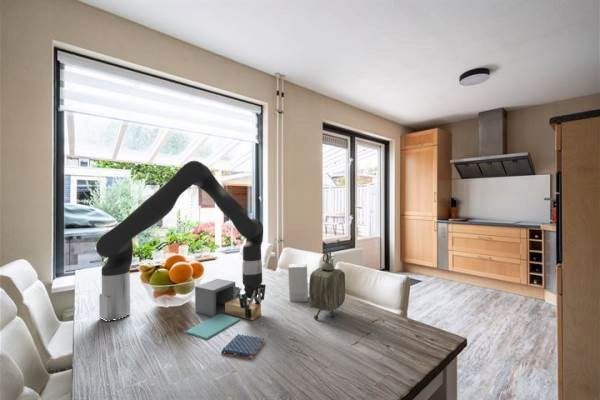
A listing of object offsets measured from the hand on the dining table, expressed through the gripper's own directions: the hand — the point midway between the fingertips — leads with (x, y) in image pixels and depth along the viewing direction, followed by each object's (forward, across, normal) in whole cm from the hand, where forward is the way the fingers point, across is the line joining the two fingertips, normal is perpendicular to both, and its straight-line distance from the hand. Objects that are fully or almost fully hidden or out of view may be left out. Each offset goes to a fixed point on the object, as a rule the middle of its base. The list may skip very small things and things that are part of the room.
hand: (253, 315), depth 104 cm
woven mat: (+2, +18, +11) cm, 21 cm away
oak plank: (+1, 0, -5) cm, 5 cm away
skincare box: (+1, -25, +6) cm, 26 cm away
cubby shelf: (+1, 0, -20) cm, 20 cm away
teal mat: (+1, +12, -8) cm, 14 cm away
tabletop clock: (+1, -15, +25) cm, 29 cm away
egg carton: (+1, -14, -25) cm, 29 cm away
